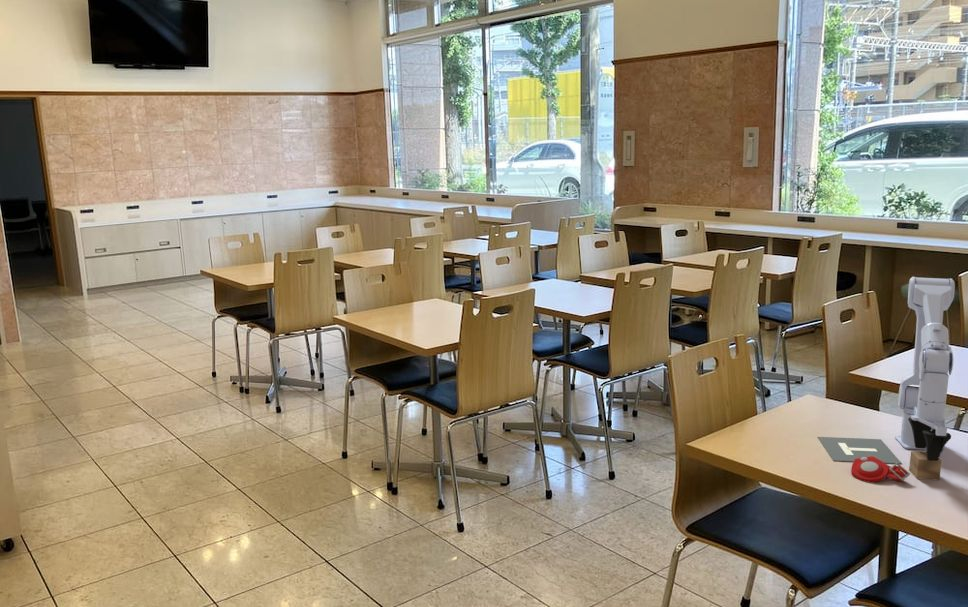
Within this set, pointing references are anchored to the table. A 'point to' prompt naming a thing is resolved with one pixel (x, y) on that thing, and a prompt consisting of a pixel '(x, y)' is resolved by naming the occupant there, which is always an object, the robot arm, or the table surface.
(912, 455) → the walnut cube
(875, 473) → the tracker holder
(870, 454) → the letter mat
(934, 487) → the table surface
